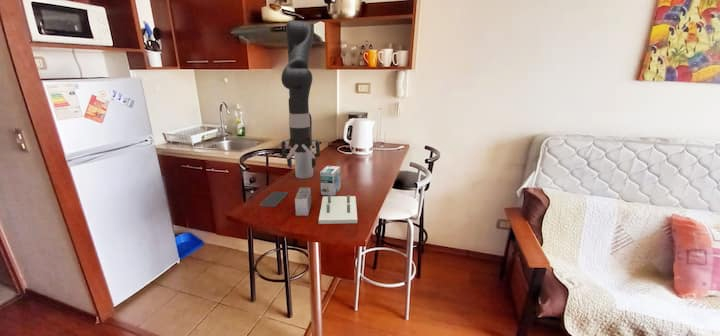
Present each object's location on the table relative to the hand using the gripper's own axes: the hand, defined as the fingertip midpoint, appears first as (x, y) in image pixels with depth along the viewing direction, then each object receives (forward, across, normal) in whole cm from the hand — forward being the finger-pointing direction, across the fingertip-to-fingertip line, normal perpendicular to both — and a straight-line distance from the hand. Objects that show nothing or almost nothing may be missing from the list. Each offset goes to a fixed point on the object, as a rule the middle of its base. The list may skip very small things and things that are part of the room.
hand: (301, 167), depth 116 cm
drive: (+18, 0, 0) cm, 18 cm away
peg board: (+17, -14, +2) cm, 22 cm away
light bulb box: (+18, -10, -19) cm, 28 cm away
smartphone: (+18, +14, -10) cm, 25 cm away
